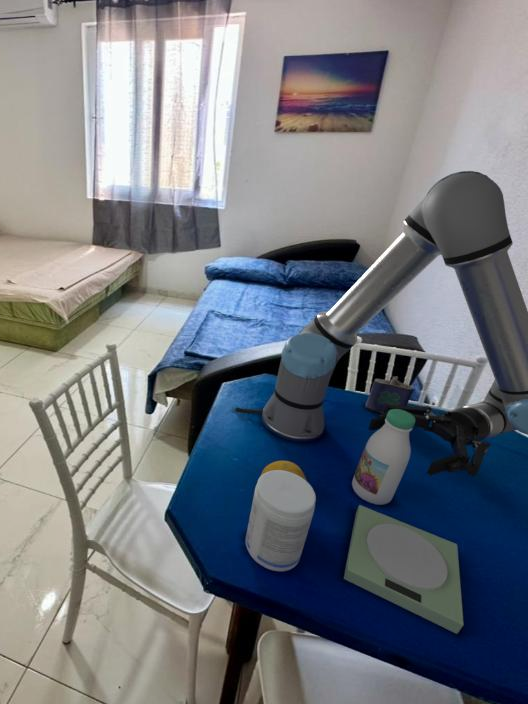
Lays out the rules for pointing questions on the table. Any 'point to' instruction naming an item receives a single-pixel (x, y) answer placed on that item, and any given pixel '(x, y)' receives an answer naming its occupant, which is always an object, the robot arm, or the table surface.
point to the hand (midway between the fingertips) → (399, 445)
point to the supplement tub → (279, 519)
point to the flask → (388, 394)
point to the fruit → (284, 468)
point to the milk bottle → (384, 459)
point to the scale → (406, 567)
